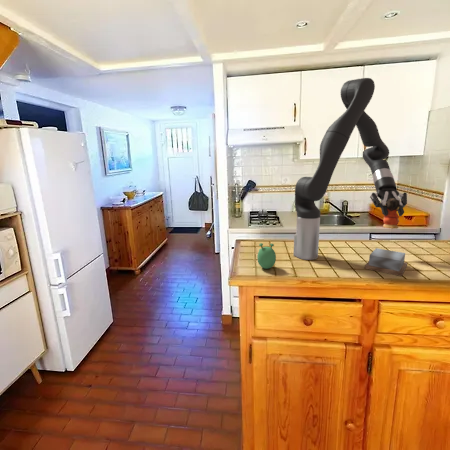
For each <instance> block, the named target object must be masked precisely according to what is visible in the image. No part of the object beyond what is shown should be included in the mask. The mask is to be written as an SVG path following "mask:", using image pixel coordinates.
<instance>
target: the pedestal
mask: <svg viewBox="0 0 450 450" xmlns="http://www.w3.org/2000/svg"><path fill="white" fill-rule="evenodd" d="M405 258H406V252H401V251H397V250H395V251H394V250H388V249H382V248H378V247H377V248H375V249H374V250H373V251H372V252H371V253H370V254H369V259H368V262H367V263H366V264H365V265H364V269H366V270H371V271H376V272H381V273H385V274H390V275H395V276H400V277H402V276H403V275H404V273H405V271H406V268H407V267H408V262H406V261H405Z"/></svg>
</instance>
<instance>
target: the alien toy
mask: <svg viewBox="0 0 450 450" xmlns="http://www.w3.org/2000/svg"><path fill="white" fill-rule="evenodd" d="M263 245H264V243H261V242H260V243H259V247H261V248H259V249H258V252H257V257H256V258H257V262H258V265H259V266H260V267H261V268H262V269H266V270H267V269H268V270H269V269H271V268H273V267H274V265H275V263H276V261H277V254H276V252H275V250H274V248H272V247H274V246H275V244H274V243H269V245H270V246H263Z"/></svg>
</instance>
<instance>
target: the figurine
mask: <svg viewBox="0 0 450 450" xmlns="http://www.w3.org/2000/svg"><path fill="white" fill-rule="evenodd" d="M400 201H401V200H400ZM400 201H399V200H397V199H395V198H390V199H389V200H388V201H387V202H386V205H385V206H387V210H388V215H387V216H384V215H383V219H382V220H383V225H382V228H384V229H385V228H386V229H392V230H393V229H396V230H398V229H399V226H398V225H399V222H400V219H399V218H400V216H399V214H398V209H399V206H400Z"/></svg>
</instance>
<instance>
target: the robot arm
mask: <svg viewBox="0 0 450 450" xmlns="http://www.w3.org/2000/svg"><path fill="white" fill-rule="evenodd" d="M375 88H376V85H375V81H374V80H373V79H372V77H371V78H370V77H363V78H356V79H351V80H347V81H346V82H344V83H343V84H342V86H341V88H340V98H341V101H342V103H343V105H344V107H345V108H346V110H345V111H344V112H343V113H342V114H341V115H340V116H339V117H338V118H337V119H336V120H335V121H334V122H332V124H330V126H329V127H328V128H327V130H326V131H325V133H324V135H323V138H322V140H321V142H320V145H319V162H318V166H317V168H316V170H315V172H314V173H313V176H302V177H300V178H298V180H297V182H296V184H295V188H294V207H295V211H296V233H295V234H294V235H293V257H296V258H298V259H301V260H309V261H310V260H317V259H318V258H319V243H320V241H319V240H320V228H321V227H320V226H321V210H320V208H318V207H317V206H316V204H315V202H318V201H320V200H322V199H323V197H324V196H325V194H326V193H327V191H328V188H329V184H330V182H331V179H332V176H333V173H334V171H335V169H336V166H337V164H338V162H339V160H340V159H341V157H342V154H343V152H344V150H345V149H346V146H347V145H348V143H349V140H350V138H351V136H352V133H353V132H354V129H355V128H357V131H358V133H359V136H360V139H361V143H362V144H363V146H364V147H366V149H364V150H363V153H362V159H363V161H364V162H365V163H366V164H367V165H368V167H369V169H370V170H371V174H372V179H373V180H372V181H373V184H374V188H375V191H376V193H375V192H372V193H371V195H370V197H369V198H370V200H371V201H372V203H373V205H374V207H375V208H379V209H380V210H381V213H382V215H383V217H384V216H387V215H388V210H387V206H386V202H387V201H388V200H389V199H390V198H395V199H397V200H399V201H400V206H399V209H398V211H397V214H398V216H399V217H402V216H403V215H404V214H405V210H404V208H405V207H406V205H408V195H407V192H403V193H400V192H399V191H398V188H397V184H396V181H395V178H394V175H393V173H392V170H391V168H390V165H389V163H388V161H387V160H385V159H387V158H388V157H389V155H390V149H389V147H388V146H387V145H386V143H385V142H384V141H383V139H382V138H381V136H380V132H379V129H378V126H377V123H376V122H375V121H374V119H373V118H372V117H370V115H368V113H366V111H365V110H366V109H367V106H368V105H369V104H370V102H371V100H372V98H373V95H374V93H375Z"/></svg>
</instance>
